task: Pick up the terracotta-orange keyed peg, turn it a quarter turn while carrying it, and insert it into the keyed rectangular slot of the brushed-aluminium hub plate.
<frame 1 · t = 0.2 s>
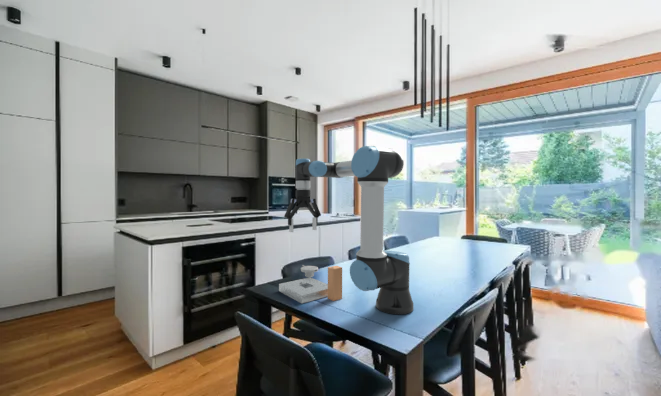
hand: (303, 230, 152), 28 cm above the table, fingers open, 13 cm apart
hub plate: (306, 292, 140), on the table
keyed peg: (334, 298, 133), on the table
showerhead: (309, 279, 162), on the table
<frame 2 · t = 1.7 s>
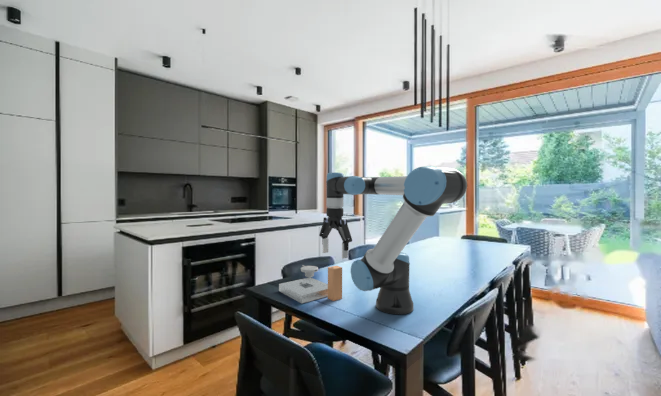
hand: (334, 255, 133), 19 cm above the table, fingers open, 13 cm apart
nothing on the table moved.
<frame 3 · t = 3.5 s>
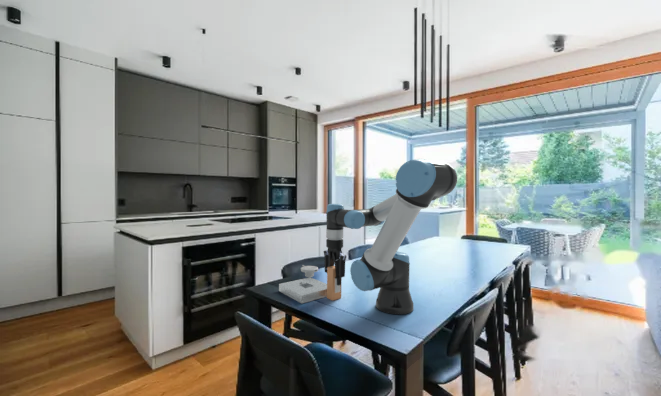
hand: (334, 290, 133), 3 cm above the table, fingers closed on keyed peg, 4 cm apart
keyed peg: (334, 298, 133), on the table, touching gripper
everything else where it was.
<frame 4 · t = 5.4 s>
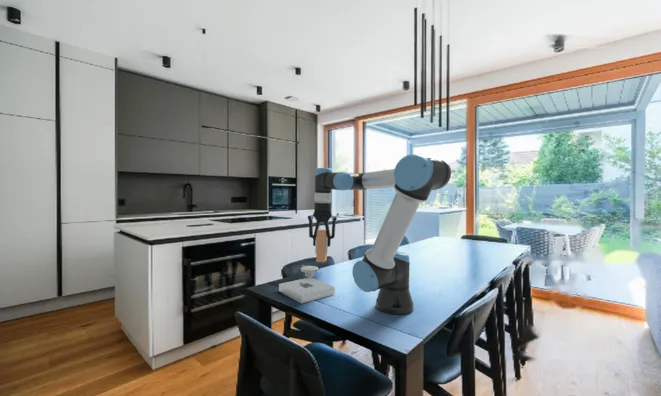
hand: (321, 253, 136), 20 cm above the table, fingers closed on keyed peg, 4 cm apart
keyed peg: (321, 260, 136), point 16 cm above the table, touching gripper
everything else where it was.
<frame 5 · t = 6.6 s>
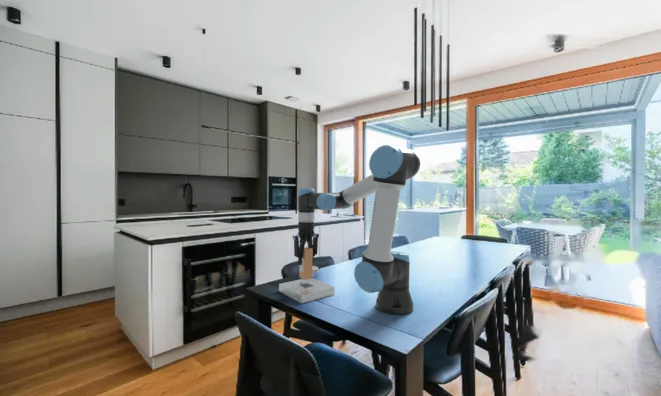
hand: (305, 270, 140), 10 cm above the table, fingers closed on keyed peg, 4 cm apart
keyed peg: (305, 277, 140), point 7 cm above the table, touching gripper
everything else where it was.
when the fingers open (6 cm above the table, at t = 7.4 s): keyed peg drops 3 cm, resting in hub plate.
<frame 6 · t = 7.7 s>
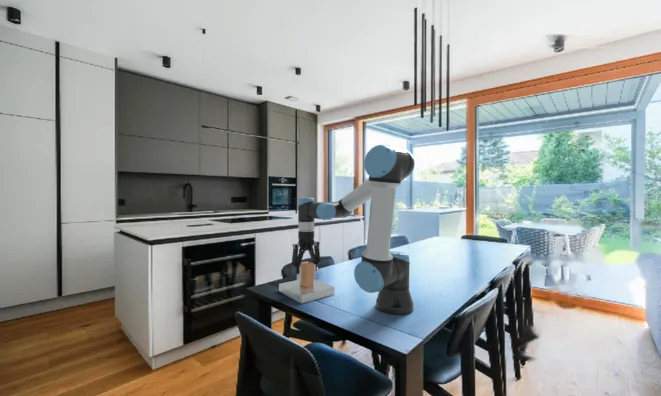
hand: (306, 278, 140), 7 cm above the table, fingers open, 7 cm apart
keyed peg: (306, 292, 140), resting in hub plate
everything else where it was.
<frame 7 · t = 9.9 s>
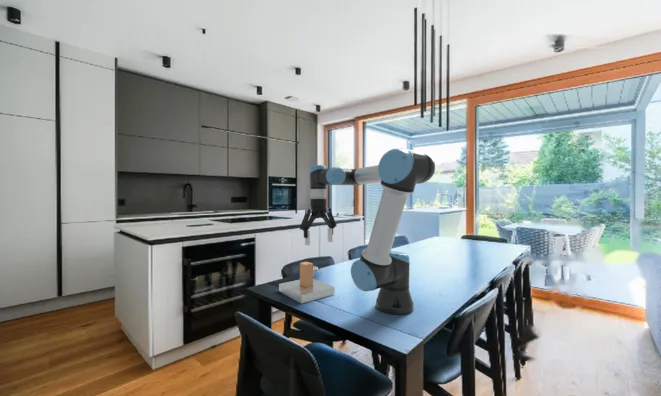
hand: (319, 243, 140), 23 cm above the table, fingers open, 13 cm apart
nothing on the table moved.
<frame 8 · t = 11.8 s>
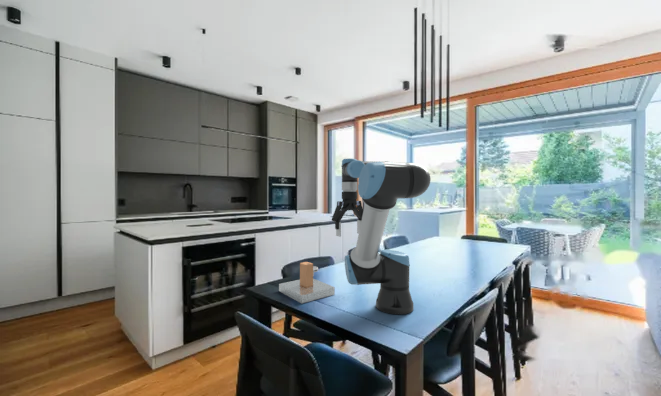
hand: (349, 234, 144), 27 cm above the table, fingers open, 13 cm apart
nothing on the table moved.
at the end: keyed peg 0.1 cm off-centre on the hub plate, point 0.0 cm above the hub plate's base; keyed peg tilted 0°; the gripper is holding nothing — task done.
